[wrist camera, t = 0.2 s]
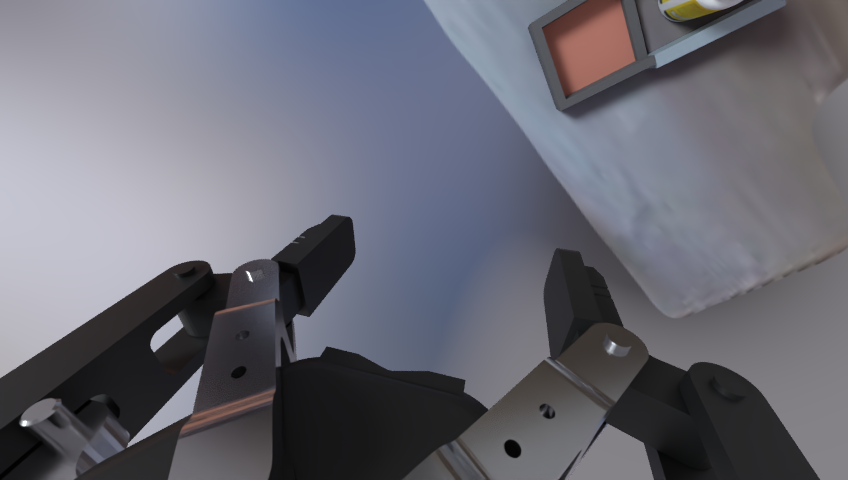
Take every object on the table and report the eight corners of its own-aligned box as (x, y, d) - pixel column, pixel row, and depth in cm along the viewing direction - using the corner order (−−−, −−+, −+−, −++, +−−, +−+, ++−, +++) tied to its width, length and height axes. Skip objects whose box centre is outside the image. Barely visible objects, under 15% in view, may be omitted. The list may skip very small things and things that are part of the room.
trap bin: (556, 108, 34) (560, 111, 31) (527, 27, 31) (530, 24, 29) (645, 64, 30) (656, 63, 28) (622, -32, 27) (632, -41, 25)
